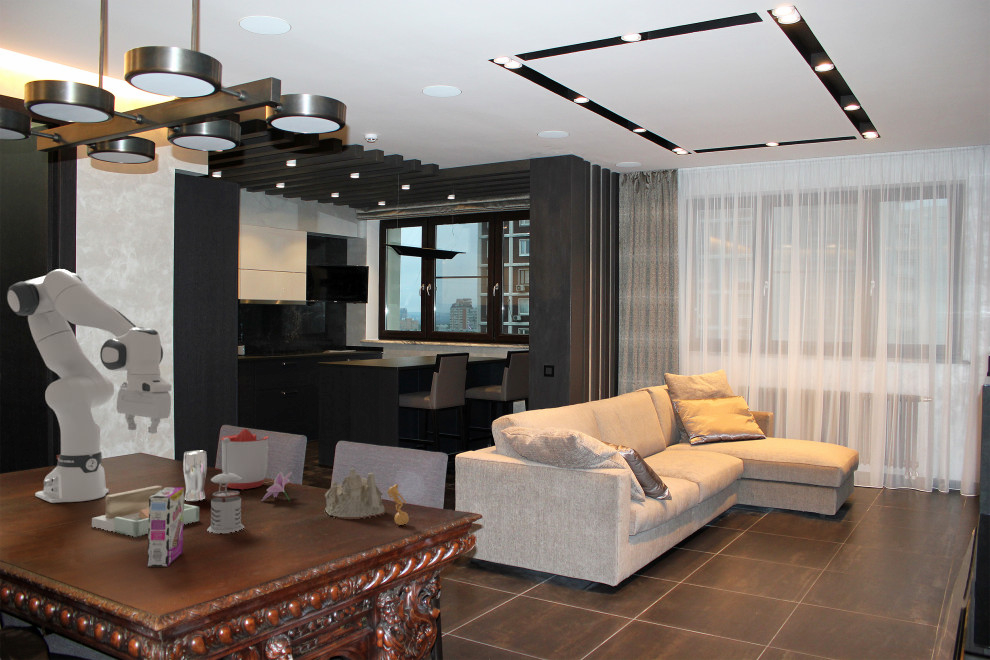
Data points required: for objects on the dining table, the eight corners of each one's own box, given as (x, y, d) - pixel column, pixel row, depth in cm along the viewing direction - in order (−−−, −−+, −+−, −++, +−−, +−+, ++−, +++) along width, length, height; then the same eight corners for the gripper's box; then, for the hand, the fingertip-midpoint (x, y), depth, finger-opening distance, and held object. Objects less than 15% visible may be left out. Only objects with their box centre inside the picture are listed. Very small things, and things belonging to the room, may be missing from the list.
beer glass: (198, 502, 242) (198, 454, 242) (178, 501, 243) (178, 453, 243) (210, 497, 249) (211, 451, 248) (191, 496, 250) (191, 450, 250)
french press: (209, 535, 205) (210, 441, 205) (203, 524, 216) (204, 435, 215) (247, 531, 210) (248, 439, 210) (240, 520, 220) (241, 433, 220)
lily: (295, 498, 253) (282, 472, 254) (310, 490, 245) (296, 463, 246) (264, 515, 245) (250, 488, 246) (278, 508, 237) (264, 480, 237)
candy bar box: (169, 567, 178) (169, 496, 178) (146, 567, 178) (147, 496, 178) (184, 552, 190) (185, 486, 189) (163, 553, 189) (164, 486, 189)
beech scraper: (105, 517, 212) (105, 495, 212) (156, 505, 226) (156, 485, 226) (111, 518, 211) (111, 496, 211) (162, 507, 225) (162, 486, 225)
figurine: (415, 527, 215) (415, 484, 215) (397, 531, 211) (397, 487, 211) (399, 521, 222) (400, 479, 222) (381, 524, 218) (381, 482, 218)
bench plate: (91, 526, 212) (91, 517, 212) (155, 511, 229) (156, 503, 229) (114, 532, 207) (114, 523, 207) (178, 516, 224) (178, 507, 224)
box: (114, 532, 207) (114, 517, 207) (178, 516, 224) (178, 502, 224) (135, 537, 202) (135, 522, 202) (199, 520, 220) (199, 506, 220)
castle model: (391, 514, 229) (388, 463, 230) (339, 524, 220) (336, 471, 220) (368, 507, 242) (366, 459, 243) (319, 515, 233) (316, 466, 233)
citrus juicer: (281, 484, 269) (282, 427, 269) (241, 493, 255) (241, 433, 255) (251, 479, 278) (252, 423, 278) (210, 487, 263) (211, 429, 263)
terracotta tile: (138, 516, 213) (140, 510, 213) (154, 512, 218) (156, 506, 217) (149, 526, 211) (151, 519, 211) (164, 522, 215) (166, 516, 215)
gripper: (111, 381, 225) (110, 428, 226) (155, 387, 215) (154, 436, 215) (131, 380, 231) (129, 426, 231) (175, 385, 220) (174, 433, 221)
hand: (142, 431), depth 223 cm, fingers open, 8 cm apart
